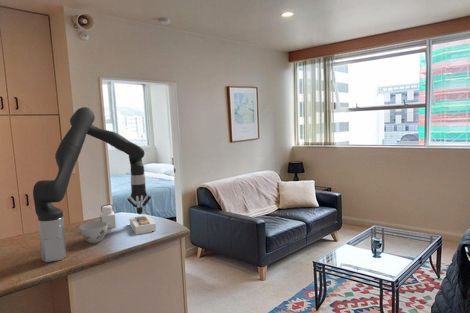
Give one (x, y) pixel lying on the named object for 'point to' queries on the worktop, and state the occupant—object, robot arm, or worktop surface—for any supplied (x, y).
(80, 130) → the robot arm
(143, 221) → the tile one
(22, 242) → the worktop surface
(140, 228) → the key panel
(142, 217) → the tile two
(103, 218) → the medicine bottle
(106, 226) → the teacup
